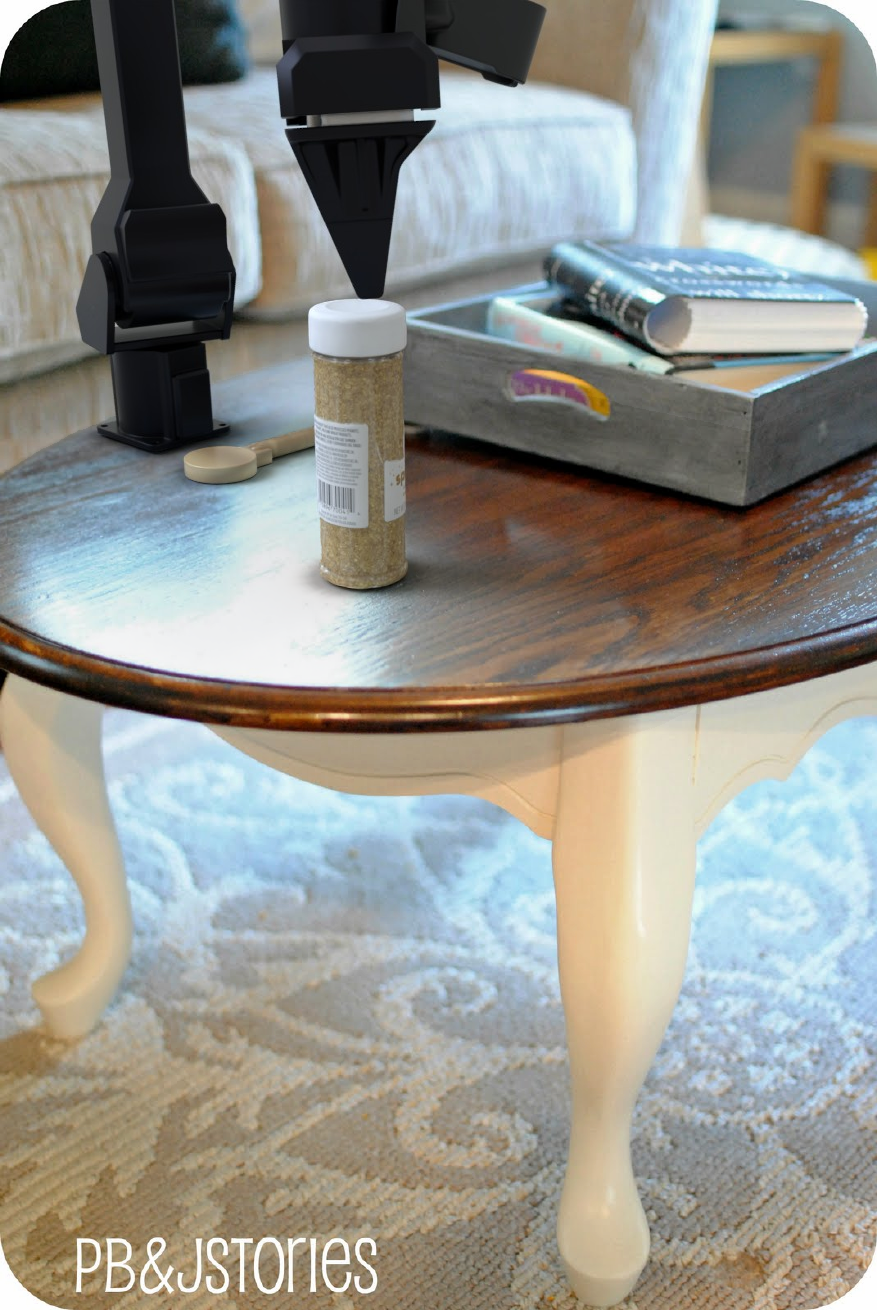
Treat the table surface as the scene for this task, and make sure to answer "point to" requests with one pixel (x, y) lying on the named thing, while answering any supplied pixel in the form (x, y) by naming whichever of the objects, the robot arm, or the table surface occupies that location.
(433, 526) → the table surface
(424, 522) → the table surface
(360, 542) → the sprinkles bottle
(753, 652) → the table surface
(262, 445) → the wooden spoon
